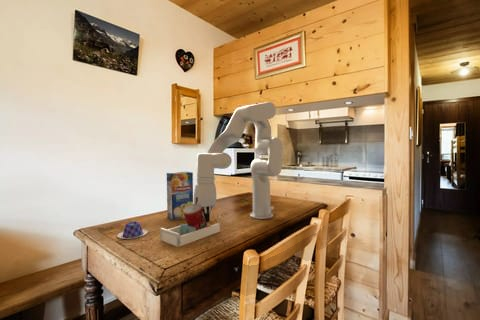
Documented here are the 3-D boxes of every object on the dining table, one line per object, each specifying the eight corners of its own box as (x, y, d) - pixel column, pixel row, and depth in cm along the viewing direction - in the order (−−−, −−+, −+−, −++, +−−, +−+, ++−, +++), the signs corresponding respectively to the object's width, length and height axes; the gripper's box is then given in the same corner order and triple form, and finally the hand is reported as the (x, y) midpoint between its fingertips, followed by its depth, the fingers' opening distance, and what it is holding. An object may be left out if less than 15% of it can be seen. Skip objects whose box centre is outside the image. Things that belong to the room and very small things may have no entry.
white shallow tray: (202, 226, 114) (202, 216, 114) (219, 231, 107) (219, 220, 106) (160, 239, 97) (160, 228, 97) (178, 247, 90) (177, 234, 90)
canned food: (205, 234, 100) (197, 211, 97) (187, 236, 102) (179, 213, 99) (210, 224, 108) (203, 202, 105) (193, 226, 109) (186, 204, 106)
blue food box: (187, 213, 138) (187, 171, 137) (193, 216, 132) (192, 172, 131) (167, 217, 131) (166, 172, 130) (172, 220, 125) (171, 173, 124)
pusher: (182, 233, 104) (182, 223, 103) (195, 238, 98) (195, 227, 98) (177, 235, 102) (177, 225, 101) (191, 240, 96) (190, 229, 96)
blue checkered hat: (147, 238, 100) (147, 225, 100) (115, 242, 96) (114, 229, 96) (148, 229, 111) (147, 218, 111) (119, 232, 107) (118, 220, 107)
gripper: (212, 178, 116) (212, 216, 116) (186, 181, 104) (187, 223, 105) (223, 179, 111) (223, 219, 111) (198, 183, 99) (198, 227, 100)
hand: (205, 221), depth 108 cm, fingers closed
